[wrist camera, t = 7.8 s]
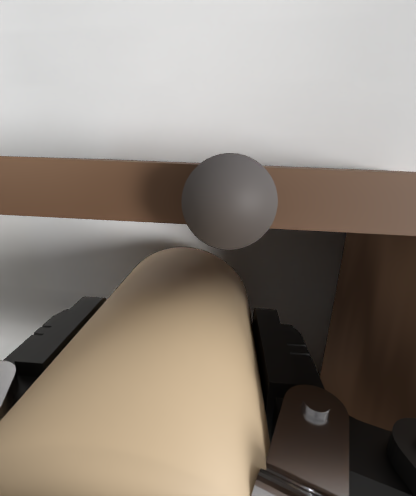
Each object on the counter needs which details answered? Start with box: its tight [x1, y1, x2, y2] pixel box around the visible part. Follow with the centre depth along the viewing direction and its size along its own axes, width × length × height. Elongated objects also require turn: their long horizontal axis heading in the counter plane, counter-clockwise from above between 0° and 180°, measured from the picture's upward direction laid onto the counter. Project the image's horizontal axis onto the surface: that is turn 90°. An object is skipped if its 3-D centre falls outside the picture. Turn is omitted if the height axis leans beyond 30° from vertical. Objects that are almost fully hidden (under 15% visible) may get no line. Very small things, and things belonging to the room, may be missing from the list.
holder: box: [0, 153, 416, 432], centre depth 10 cm, size 12×11×7 cm
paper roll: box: [0, 247, 270, 496], centre depth 8 cm, size 5×5×8 cm
